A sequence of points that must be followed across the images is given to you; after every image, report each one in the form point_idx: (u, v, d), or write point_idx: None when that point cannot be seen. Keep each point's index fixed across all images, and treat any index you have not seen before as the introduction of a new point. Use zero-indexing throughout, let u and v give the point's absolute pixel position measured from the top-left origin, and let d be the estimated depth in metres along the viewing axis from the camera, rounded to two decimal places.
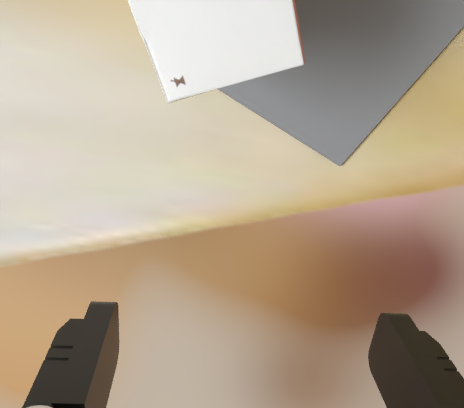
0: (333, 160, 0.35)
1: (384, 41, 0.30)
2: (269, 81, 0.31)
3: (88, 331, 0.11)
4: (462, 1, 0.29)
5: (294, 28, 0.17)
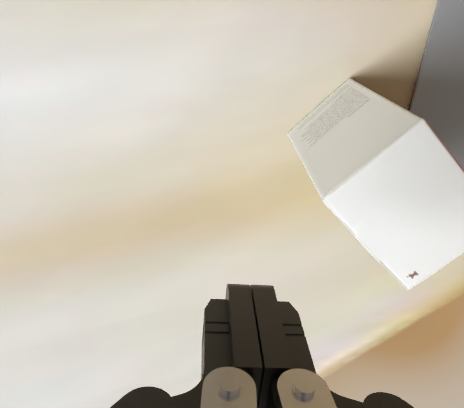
0: None
1: None
2: None
3: (238, 308, 0.12)
4: None
5: None
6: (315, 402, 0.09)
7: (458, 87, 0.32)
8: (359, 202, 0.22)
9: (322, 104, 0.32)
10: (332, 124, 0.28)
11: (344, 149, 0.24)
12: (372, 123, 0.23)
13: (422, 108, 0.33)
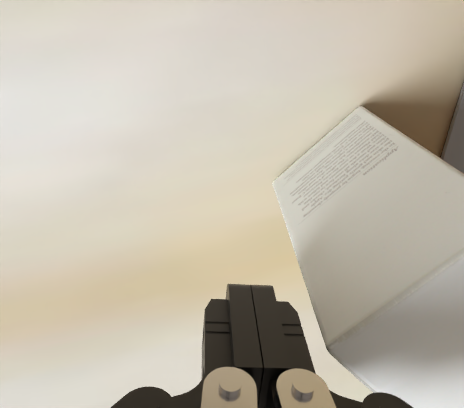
0: None
1: None
2: None
3: (238, 308, 0.12)
4: None
5: None
6: (314, 402, 0.09)
7: None
8: (395, 354, 0.12)
9: (322, 143, 0.22)
10: (337, 183, 0.18)
11: (363, 241, 0.14)
12: (410, 198, 0.14)
13: (463, 146, 0.23)
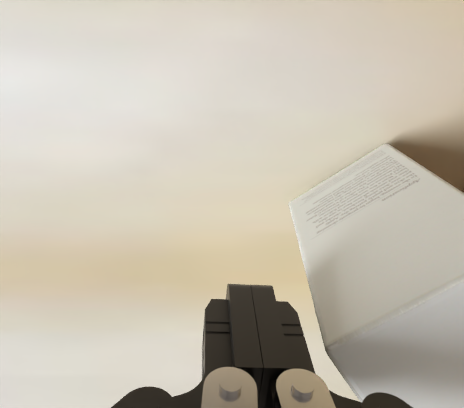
0: None
1: None
2: None
3: (238, 309, 0.12)
4: None
5: None
6: (314, 402, 0.09)
7: None
8: (392, 367, 0.12)
9: (343, 172, 0.23)
10: (355, 206, 0.18)
11: (374, 257, 0.14)
12: (427, 222, 0.14)
13: None
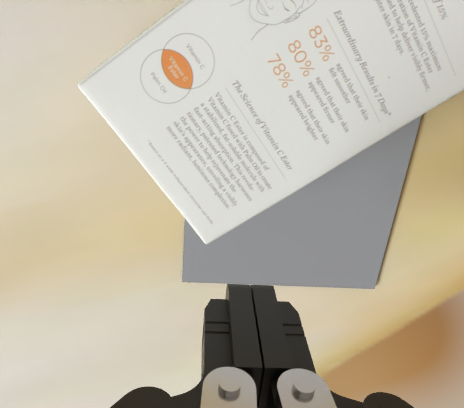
0: (362, 286, 0.27)
1: None
2: (234, 248, 0.25)
3: (238, 309, 0.12)
4: None
5: None
6: (315, 402, 0.09)
7: None
8: None
9: None
10: None
11: None
12: None
13: None
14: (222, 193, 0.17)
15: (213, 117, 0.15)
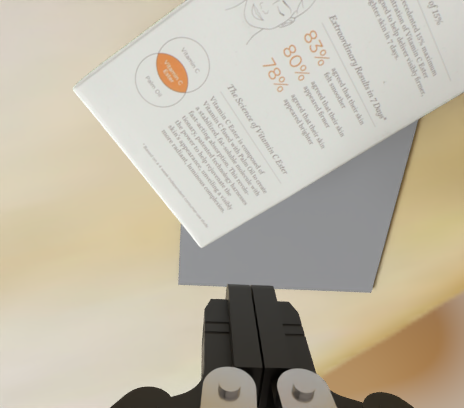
0: (358, 290, 0.27)
1: None
2: (230, 251, 0.25)
3: (238, 308, 0.12)
4: None
5: None
6: (315, 402, 0.09)
7: None
8: None
9: None
10: None
11: None
12: None
13: None
14: (217, 197, 0.17)
15: (209, 120, 0.15)
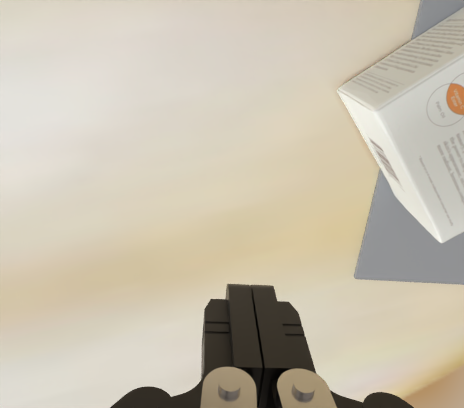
0: None
1: None
2: (406, 249, 0.28)
3: (238, 308, 0.12)
4: None
5: None
6: (315, 402, 0.09)
7: None
8: None
9: (363, 87, 0.21)
10: (458, 31, 0.20)
11: None
12: None
13: None
14: None
15: None
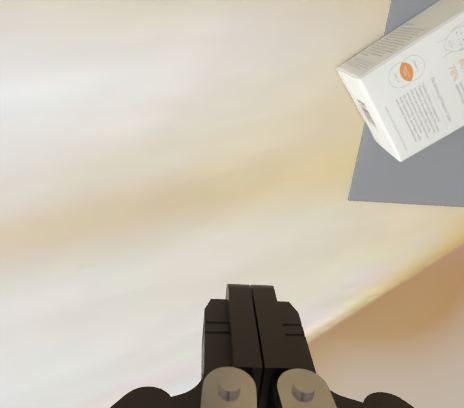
0: (456, 205, 0.43)
1: None
2: (383, 178, 0.42)
3: (238, 308, 0.12)
4: None
5: None
6: (315, 402, 0.09)
7: None
8: None
9: (352, 66, 0.34)
10: (409, 31, 0.33)
11: None
12: None
13: None
14: (415, 133, 0.33)
15: (419, 94, 0.32)
